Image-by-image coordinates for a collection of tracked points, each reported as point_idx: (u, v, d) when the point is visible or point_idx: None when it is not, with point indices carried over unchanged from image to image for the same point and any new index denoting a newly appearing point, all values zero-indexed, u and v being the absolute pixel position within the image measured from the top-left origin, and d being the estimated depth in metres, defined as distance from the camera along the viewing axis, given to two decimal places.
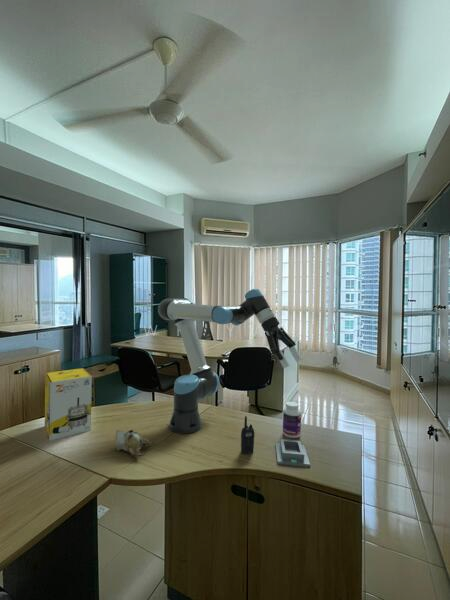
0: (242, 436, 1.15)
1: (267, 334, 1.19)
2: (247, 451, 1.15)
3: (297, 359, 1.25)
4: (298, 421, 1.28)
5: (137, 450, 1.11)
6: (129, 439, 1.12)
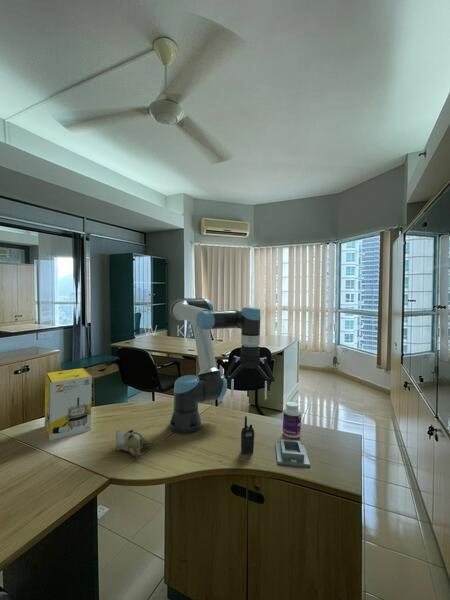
0: (242, 436, 1.15)
1: None
2: (247, 451, 1.15)
3: None
4: (298, 421, 1.28)
5: (137, 450, 1.11)
6: (129, 439, 1.12)
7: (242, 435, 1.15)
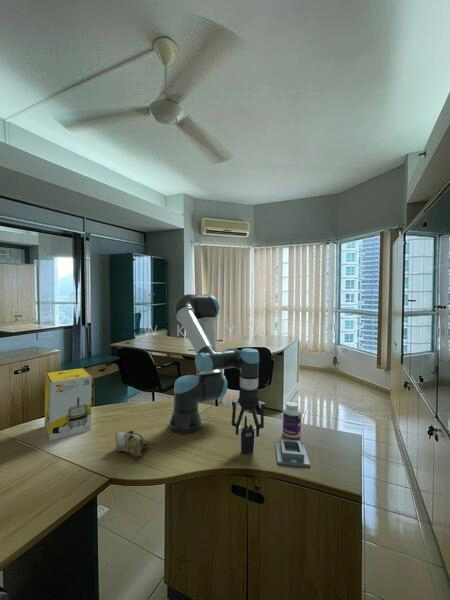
0: (242, 436, 1.15)
1: None
2: (247, 451, 1.15)
3: None
4: (298, 421, 1.28)
5: (138, 451, 1.10)
6: (130, 440, 1.11)
7: (242, 435, 1.15)
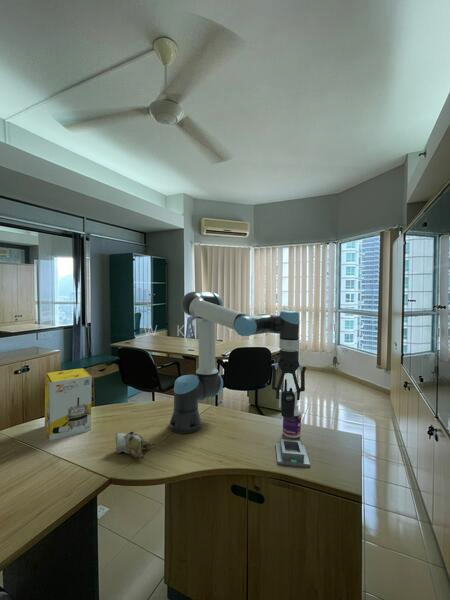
0: (282, 399, 1.12)
1: None
2: (288, 415, 1.12)
3: (294, 405, 1.14)
4: (298, 421, 1.28)
5: (139, 452, 1.10)
6: (130, 441, 1.11)
7: (282, 398, 1.12)
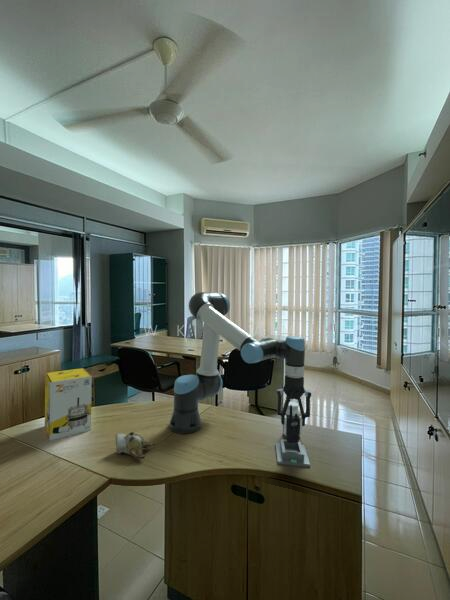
0: (288, 425, 1.13)
1: (277, 393, 1.15)
2: (293, 440, 1.12)
3: None
4: None
5: (139, 452, 1.09)
6: (131, 441, 1.10)
7: (288, 424, 1.13)
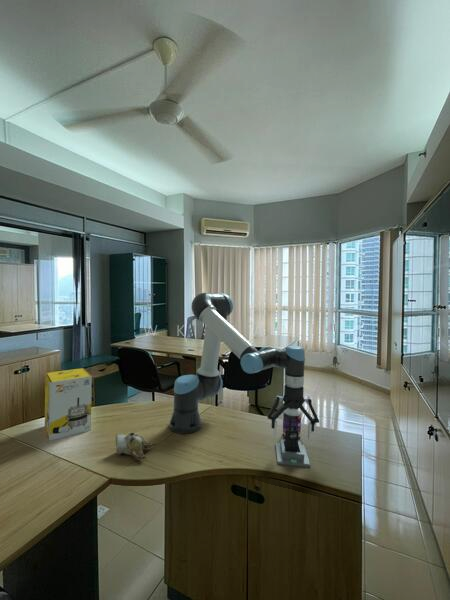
0: (287, 437, 1.13)
1: (276, 399, 1.15)
2: None
3: (308, 436, 1.14)
4: (298, 421, 1.28)
5: (140, 452, 1.09)
6: (131, 442, 1.10)
7: (287, 436, 1.13)
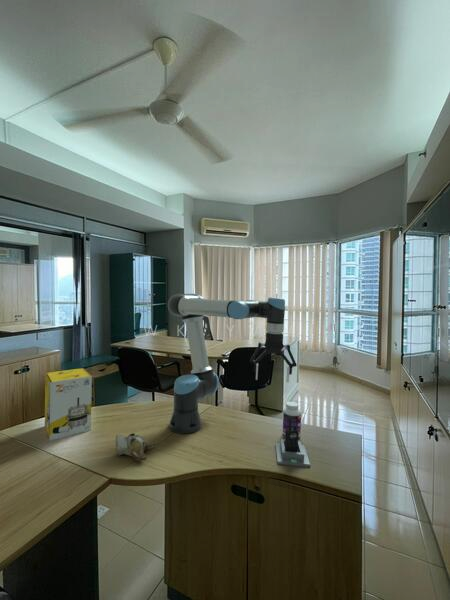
0: (287, 437, 1.13)
1: (258, 345, 1.27)
2: None
3: None
4: (298, 421, 1.28)
5: (141, 453, 1.09)
6: (132, 442, 1.09)
7: (287, 436, 1.13)
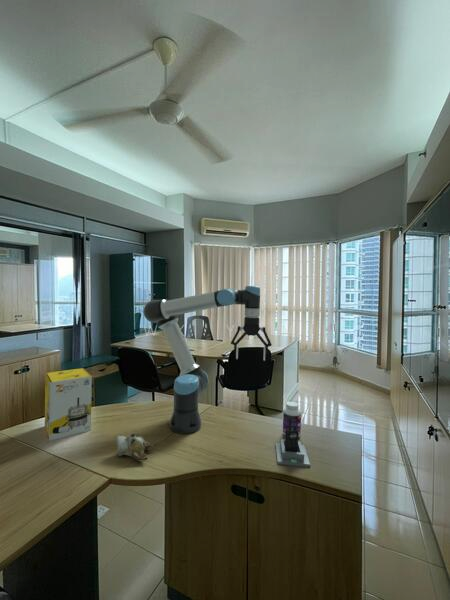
0: (287, 437, 1.13)
1: None
2: None
3: (263, 358, 1.42)
4: (298, 421, 1.28)
5: (142, 453, 1.08)
6: (132, 443, 1.09)
7: (287, 436, 1.13)
